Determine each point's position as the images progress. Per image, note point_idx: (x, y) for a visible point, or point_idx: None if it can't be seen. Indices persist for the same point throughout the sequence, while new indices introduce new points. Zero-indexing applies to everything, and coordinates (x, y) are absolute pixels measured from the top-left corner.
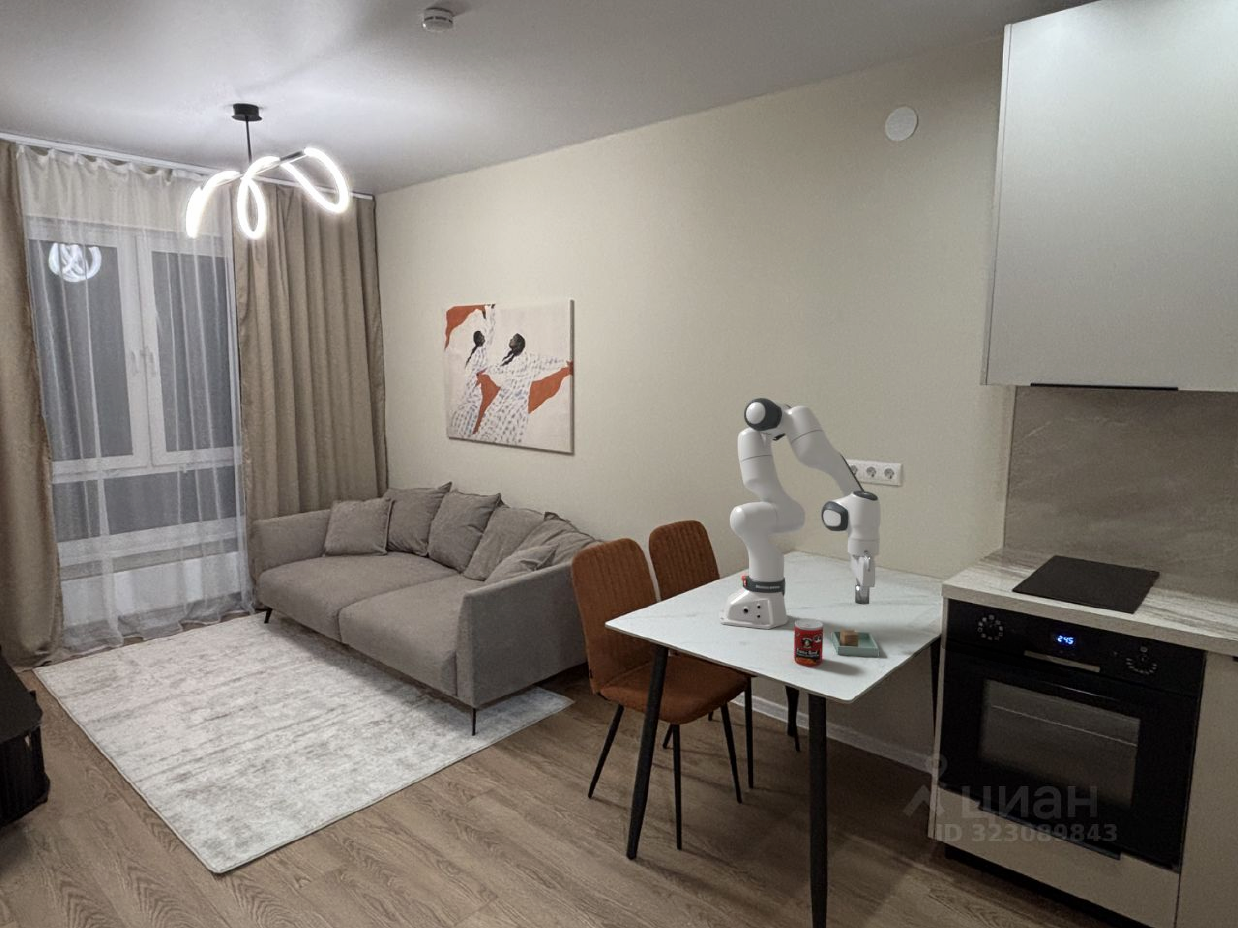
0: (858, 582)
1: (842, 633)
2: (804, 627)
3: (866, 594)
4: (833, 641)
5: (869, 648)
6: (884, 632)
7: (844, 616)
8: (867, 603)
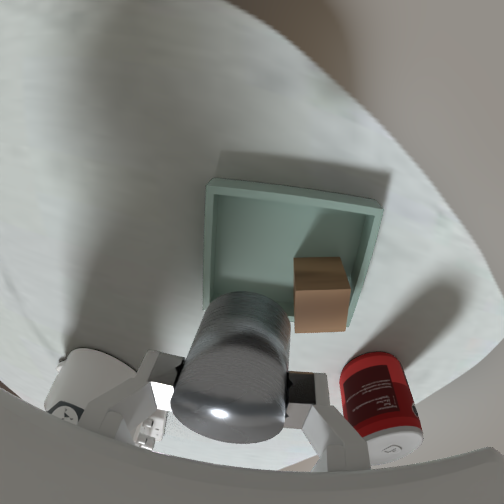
0: (144, 412)
1: (321, 330)
2: (409, 453)
3: (327, 385)
4: None
5: (375, 238)
6: (128, 106)
7: (26, 207)
8: (285, 314)
